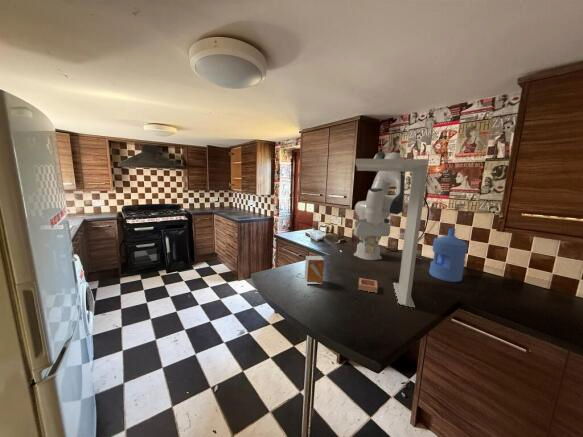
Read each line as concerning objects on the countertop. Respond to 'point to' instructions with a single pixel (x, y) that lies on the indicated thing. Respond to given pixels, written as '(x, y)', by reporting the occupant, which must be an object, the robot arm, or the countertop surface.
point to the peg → (370, 245)
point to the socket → (367, 285)
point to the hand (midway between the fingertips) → (370, 244)
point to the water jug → (448, 257)
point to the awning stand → (413, 216)
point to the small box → (314, 269)
